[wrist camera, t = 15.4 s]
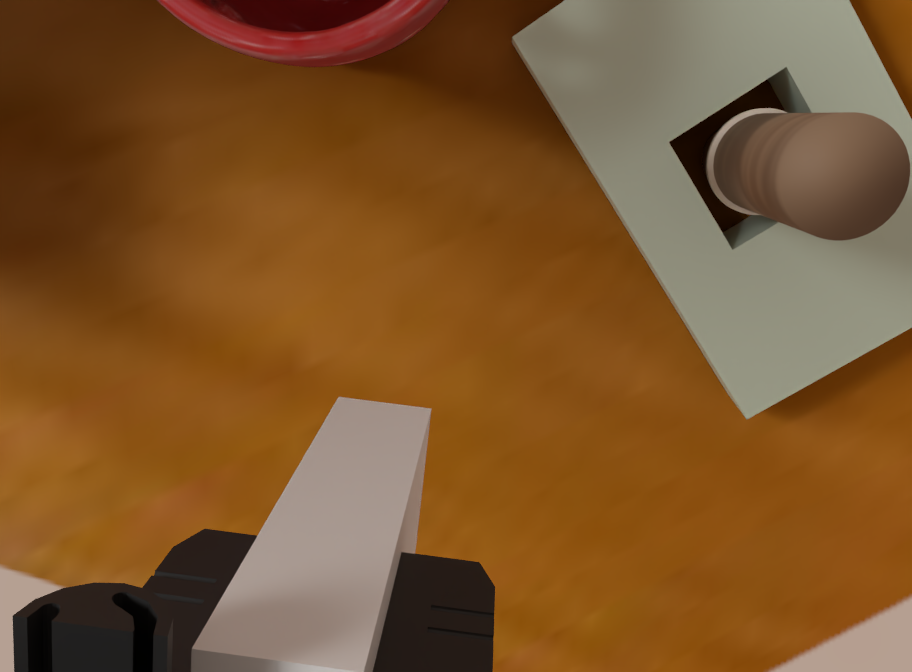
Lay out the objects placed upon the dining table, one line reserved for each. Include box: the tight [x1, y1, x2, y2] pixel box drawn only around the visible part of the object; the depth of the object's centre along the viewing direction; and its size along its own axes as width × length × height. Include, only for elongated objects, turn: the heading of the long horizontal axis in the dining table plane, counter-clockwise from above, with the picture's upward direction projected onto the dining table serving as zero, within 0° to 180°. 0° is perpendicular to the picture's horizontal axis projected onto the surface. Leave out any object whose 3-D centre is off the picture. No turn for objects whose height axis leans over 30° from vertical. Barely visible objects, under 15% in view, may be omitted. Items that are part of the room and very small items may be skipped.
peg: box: [702, 108, 910, 241], centre depth 33 cm, size 4×4×13 cm
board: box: [512, 0, 912, 419], centre depth 38 cm, size 20×12×4 cm, turn 34°
